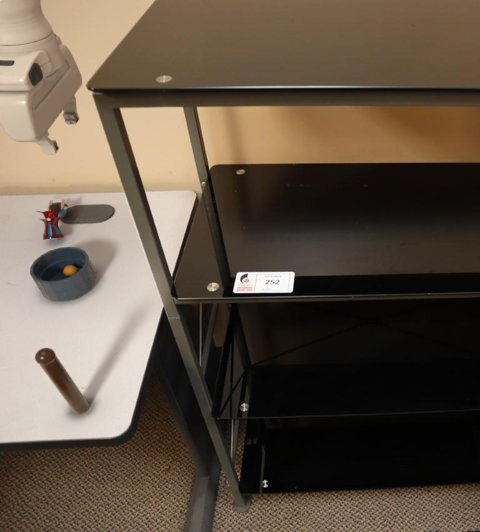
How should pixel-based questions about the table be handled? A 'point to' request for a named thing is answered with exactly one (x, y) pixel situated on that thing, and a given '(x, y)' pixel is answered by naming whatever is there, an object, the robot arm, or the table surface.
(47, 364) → the stick
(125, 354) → the table surface
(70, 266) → the bead
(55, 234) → the hoverbike
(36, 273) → the bowl
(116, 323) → the table surface
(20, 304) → the table surface
